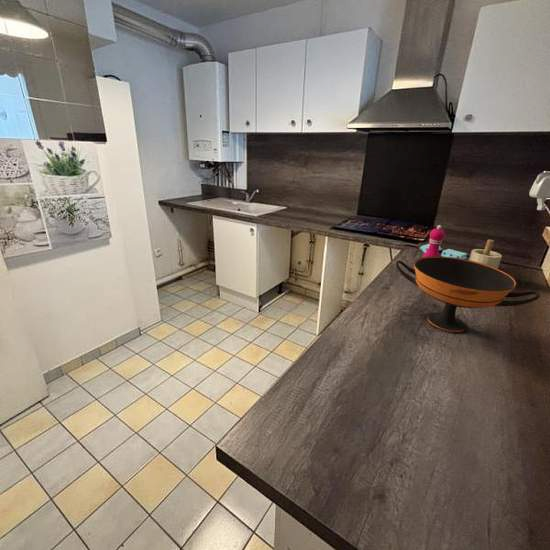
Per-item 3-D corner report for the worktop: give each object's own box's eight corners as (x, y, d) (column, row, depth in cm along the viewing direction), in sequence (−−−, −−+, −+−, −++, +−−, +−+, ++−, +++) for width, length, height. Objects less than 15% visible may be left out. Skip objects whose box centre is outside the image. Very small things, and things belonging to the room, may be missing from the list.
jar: (481, 272, 132) (489, 249, 127) (499, 282, 122) (508, 257, 118) (459, 271, 131) (466, 248, 127) (474, 281, 122) (483, 257, 117)
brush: (480, 273, 129) (492, 238, 122) (487, 277, 124) (500, 242, 118) (470, 273, 128) (481, 238, 122) (477, 277, 124) (489, 241, 118)
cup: (375, 320, 91) (385, 268, 84) (397, 292, 110) (407, 247, 103) (519, 369, 72) (548, 307, 65) (515, 325, 91) (538, 273, 84)
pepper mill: (437, 266, 136) (449, 225, 128) (436, 271, 130) (448, 228, 123) (421, 263, 140) (431, 222, 132) (419, 268, 134) (430, 225, 126)
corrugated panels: (427, 248, 163) (418, 251, 158) (428, 243, 162) (419, 245, 156) (497, 267, 138) (489, 271, 133) (499, 261, 137) (491, 265, 132)
